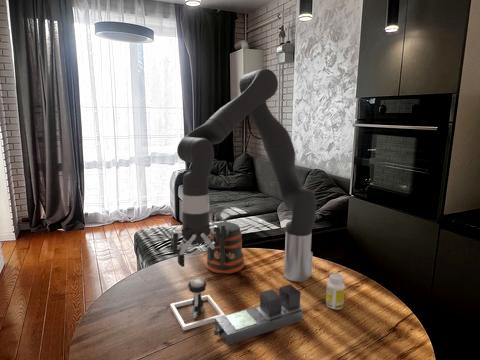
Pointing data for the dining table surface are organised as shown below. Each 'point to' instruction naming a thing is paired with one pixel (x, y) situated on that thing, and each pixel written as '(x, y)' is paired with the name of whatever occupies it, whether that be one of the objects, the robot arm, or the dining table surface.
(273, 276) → the dining table surface
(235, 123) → the robot arm
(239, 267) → the beer stein
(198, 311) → the push button
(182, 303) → the empty frame
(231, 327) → the power strip
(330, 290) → the supplement bottle
